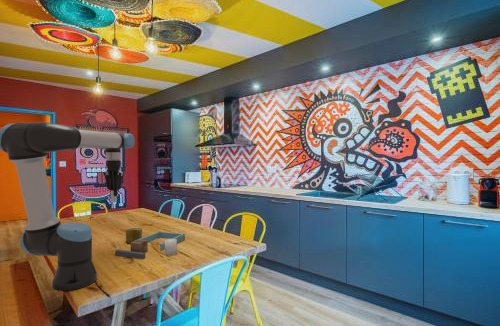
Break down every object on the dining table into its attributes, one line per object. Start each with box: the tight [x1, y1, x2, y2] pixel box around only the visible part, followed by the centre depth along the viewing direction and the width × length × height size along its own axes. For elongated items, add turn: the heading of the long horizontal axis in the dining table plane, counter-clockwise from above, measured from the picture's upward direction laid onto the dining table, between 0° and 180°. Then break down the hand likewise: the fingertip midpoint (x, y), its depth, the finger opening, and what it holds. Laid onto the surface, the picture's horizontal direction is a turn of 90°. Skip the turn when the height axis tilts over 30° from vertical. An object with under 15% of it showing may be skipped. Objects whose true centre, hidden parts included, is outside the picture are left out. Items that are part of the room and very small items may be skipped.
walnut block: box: [129, 240, 149, 254], centre depth 145 cm, size 6×6×6 cm
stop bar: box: [114, 249, 146, 260], centre depth 139 cm, size 2×18×2 cm, turn 70°
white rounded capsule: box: [164, 238, 178, 256], centre depth 143 cm, size 6×6×7 cm
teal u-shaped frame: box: [135, 231, 186, 251], centre depth 161 cm, size 22×19×4 cm
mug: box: [125, 227, 143, 244], centre depth 166 cm, size 12×10×10 cm
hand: (113, 201), depth 151 cm, fingers closed
